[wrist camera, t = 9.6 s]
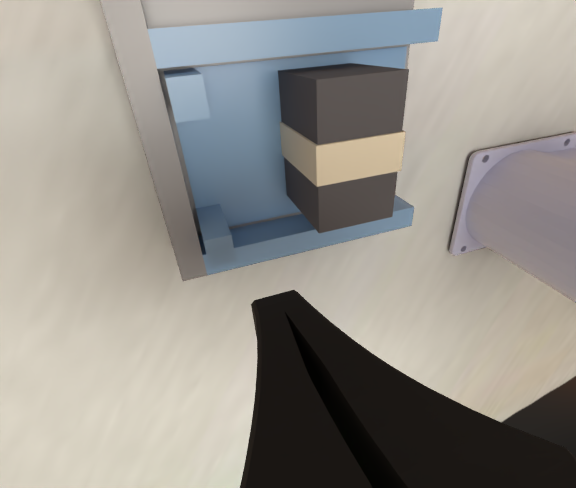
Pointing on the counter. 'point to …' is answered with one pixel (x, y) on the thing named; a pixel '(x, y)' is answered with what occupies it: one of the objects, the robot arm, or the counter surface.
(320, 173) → the dark striped block
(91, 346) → the counter surface
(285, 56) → the board
